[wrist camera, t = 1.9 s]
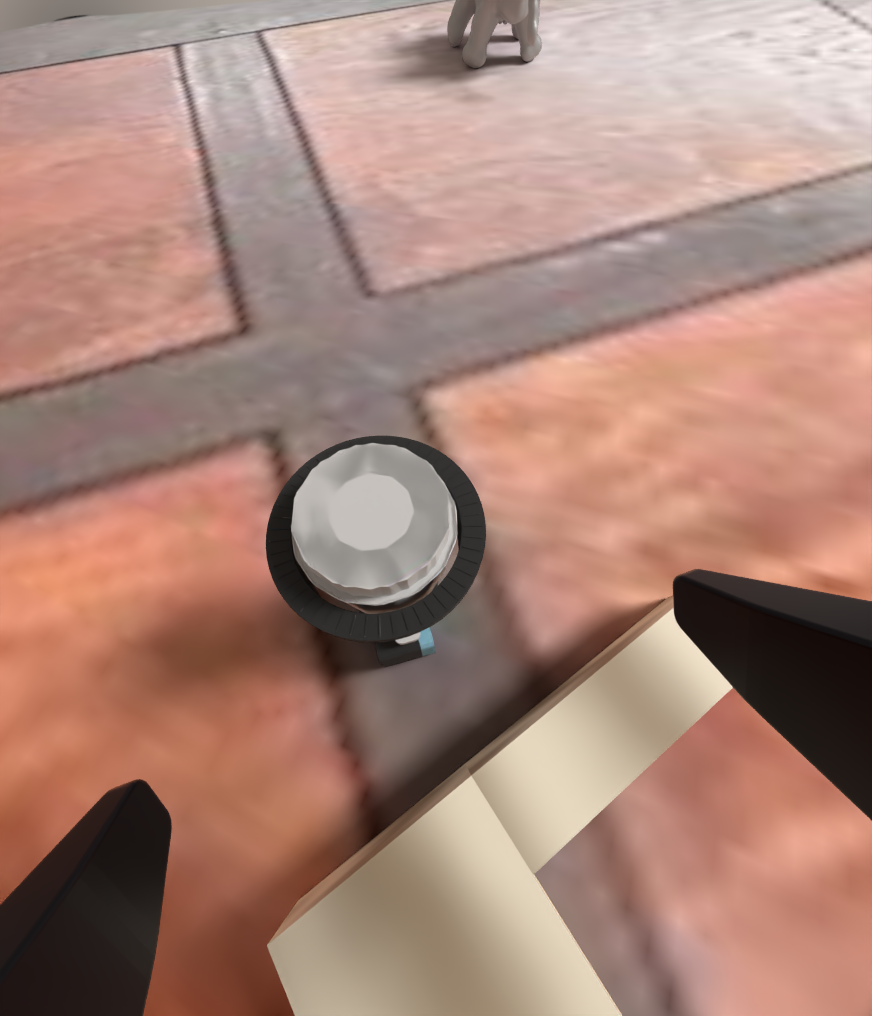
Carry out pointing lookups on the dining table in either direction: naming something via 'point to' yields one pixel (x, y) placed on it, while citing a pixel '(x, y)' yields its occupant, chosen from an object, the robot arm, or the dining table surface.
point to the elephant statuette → (492, 6)
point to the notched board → (495, 853)
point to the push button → (377, 542)
